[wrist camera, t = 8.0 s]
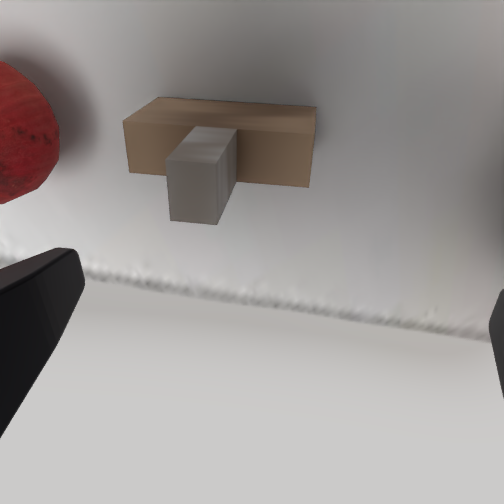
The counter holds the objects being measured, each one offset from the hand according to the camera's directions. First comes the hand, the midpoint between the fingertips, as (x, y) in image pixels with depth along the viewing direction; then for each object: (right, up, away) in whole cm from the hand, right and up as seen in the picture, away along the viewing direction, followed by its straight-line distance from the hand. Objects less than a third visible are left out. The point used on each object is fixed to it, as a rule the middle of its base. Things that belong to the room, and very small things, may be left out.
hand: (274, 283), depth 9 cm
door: (-1, +6, +10) cm, 12 cm away
